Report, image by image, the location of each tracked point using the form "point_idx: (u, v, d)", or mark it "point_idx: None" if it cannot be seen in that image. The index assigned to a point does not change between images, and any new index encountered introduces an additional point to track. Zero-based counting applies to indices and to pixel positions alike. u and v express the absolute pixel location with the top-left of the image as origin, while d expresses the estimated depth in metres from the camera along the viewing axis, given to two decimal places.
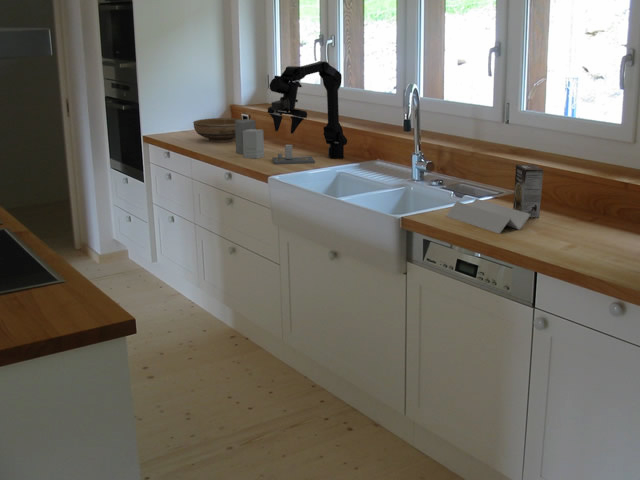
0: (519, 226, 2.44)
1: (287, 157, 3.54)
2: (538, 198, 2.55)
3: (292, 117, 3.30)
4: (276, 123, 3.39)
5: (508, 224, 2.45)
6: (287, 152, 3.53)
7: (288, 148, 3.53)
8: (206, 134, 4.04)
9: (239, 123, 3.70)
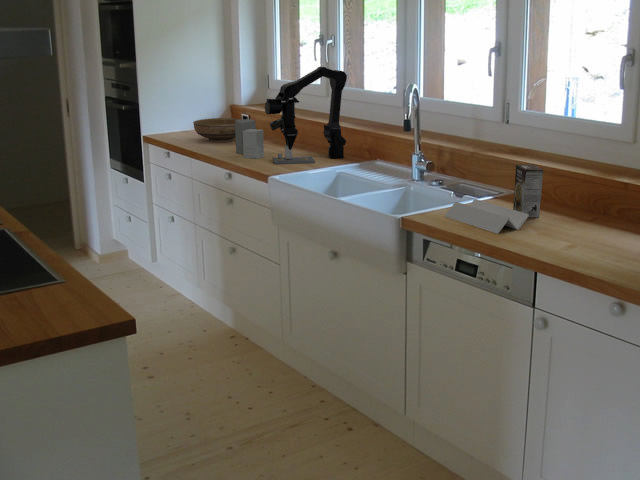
0: (518, 226, 2.43)
1: (287, 157, 3.54)
2: (538, 198, 2.55)
3: (284, 135, 3.46)
4: (286, 139, 3.58)
5: (507, 224, 2.45)
6: (287, 152, 3.53)
7: (288, 148, 3.53)
8: (206, 134, 4.04)
9: (239, 123, 3.70)
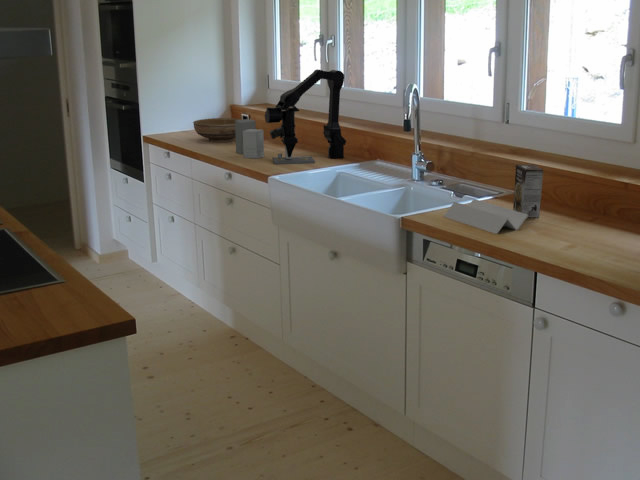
0: (516, 226, 2.43)
1: (287, 157, 3.54)
2: (538, 198, 2.55)
3: (283, 143, 3.50)
4: None
5: (505, 224, 2.44)
6: None
7: None
8: (206, 134, 4.04)
9: (239, 123, 3.70)
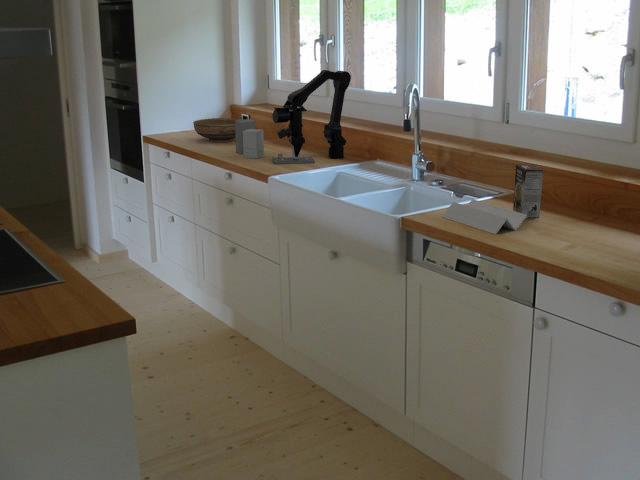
0: (515, 227, 2.43)
1: (294, 157, 3.54)
2: (538, 198, 2.55)
3: None
4: None
5: (504, 225, 2.44)
6: None
7: None
8: (206, 134, 4.04)
9: (239, 123, 3.70)
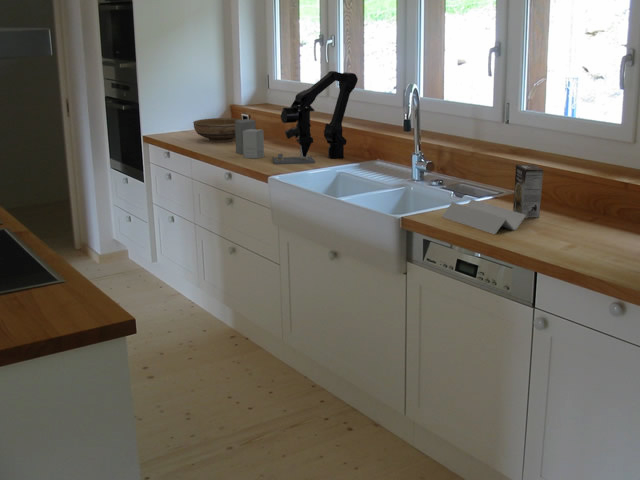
0: (515, 227, 2.43)
1: (302, 157, 3.55)
2: (538, 198, 2.55)
3: None
4: None
5: (504, 225, 2.44)
6: None
7: None
8: (206, 134, 4.04)
9: (239, 123, 3.70)
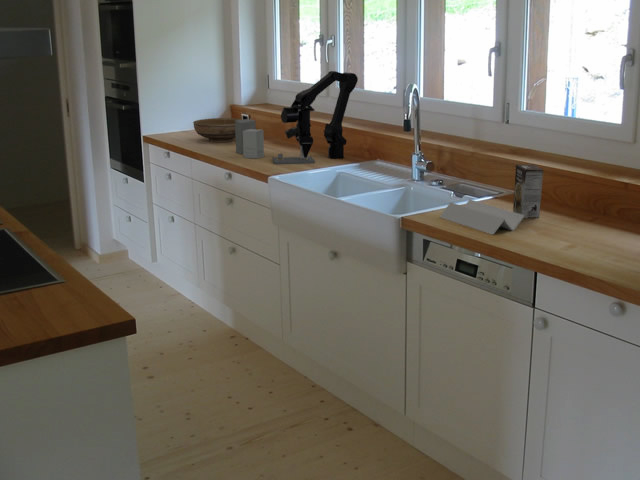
0: (513, 227, 2.42)
1: (302, 157, 3.55)
2: (538, 198, 2.55)
3: None
4: None
5: (502, 225, 2.44)
6: (302, 152, 3.54)
7: None
8: (206, 134, 4.04)
9: (239, 123, 3.70)
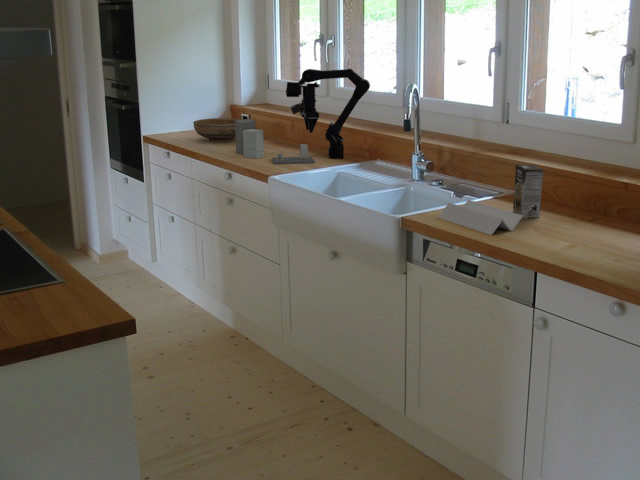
0: (511, 227, 2.42)
1: (302, 157, 3.55)
2: (538, 198, 2.55)
3: None
4: (306, 122, 3.67)
5: (500, 225, 2.43)
6: (302, 152, 3.54)
7: (303, 148, 3.54)
8: (206, 134, 4.04)
9: (239, 123, 3.70)
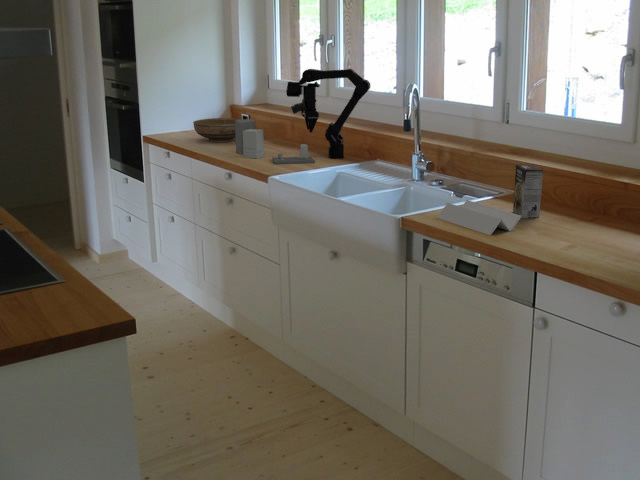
0: (510, 228, 2.42)
1: (302, 157, 3.55)
2: (538, 198, 2.55)
3: (305, 118, 3.56)
4: (307, 122, 3.68)
5: (499, 226, 2.43)
6: (302, 152, 3.54)
7: (303, 148, 3.54)
8: (206, 134, 4.04)
9: (239, 123, 3.70)
